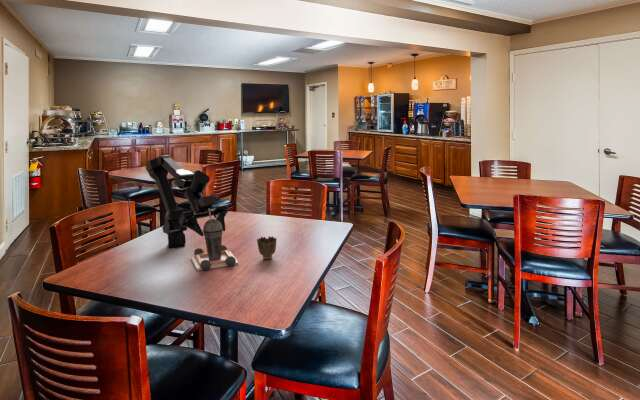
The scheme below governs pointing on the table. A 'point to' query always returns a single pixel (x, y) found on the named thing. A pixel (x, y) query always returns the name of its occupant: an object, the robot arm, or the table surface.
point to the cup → (267, 247)
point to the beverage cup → (213, 238)
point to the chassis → (203, 261)
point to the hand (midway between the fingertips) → (214, 233)
